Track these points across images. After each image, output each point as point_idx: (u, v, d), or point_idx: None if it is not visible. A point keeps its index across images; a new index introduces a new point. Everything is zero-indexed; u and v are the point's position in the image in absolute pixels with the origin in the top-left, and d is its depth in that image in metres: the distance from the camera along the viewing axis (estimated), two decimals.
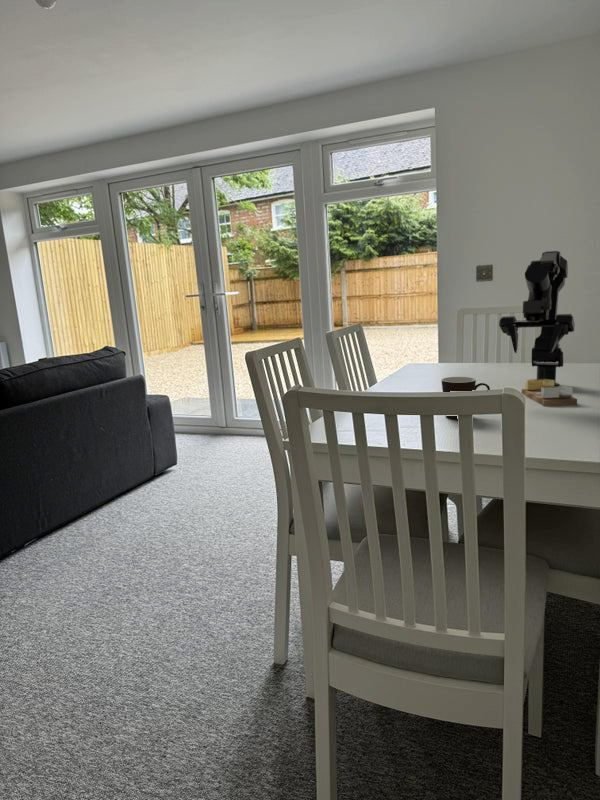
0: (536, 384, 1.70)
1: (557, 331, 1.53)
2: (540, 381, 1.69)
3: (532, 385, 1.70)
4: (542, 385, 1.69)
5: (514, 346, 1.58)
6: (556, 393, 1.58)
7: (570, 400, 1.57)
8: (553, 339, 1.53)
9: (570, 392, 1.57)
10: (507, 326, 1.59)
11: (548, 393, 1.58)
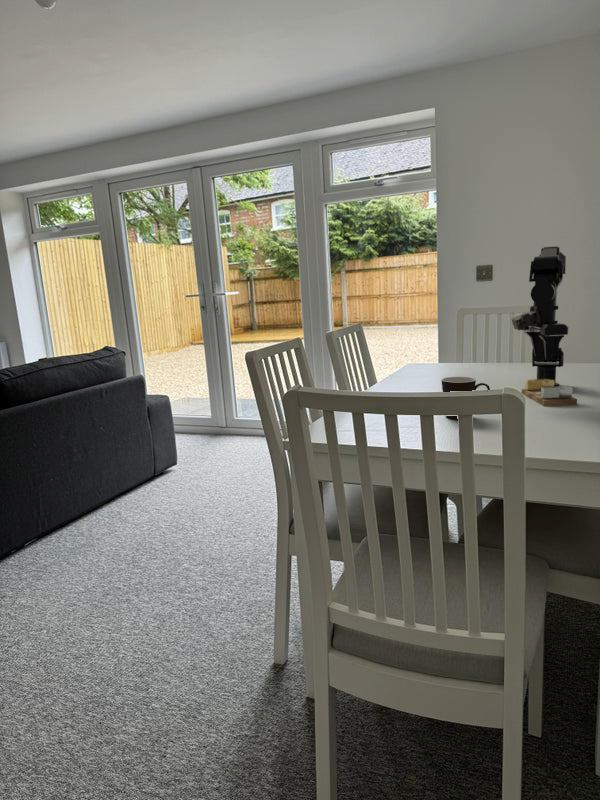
0: (536, 384, 1.70)
1: (544, 341, 1.57)
2: (540, 381, 1.69)
3: (532, 385, 1.70)
4: (542, 385, 1.69)
5: (534, 351, 1.67)
6: (556, 393, 1.58)
7: (570, 400, 1.57)
8: (544, 348, 1.58)
9: (570, 392, 1.57)
10: (525, 333, 1.68)
11: (548, 393, 1.58)
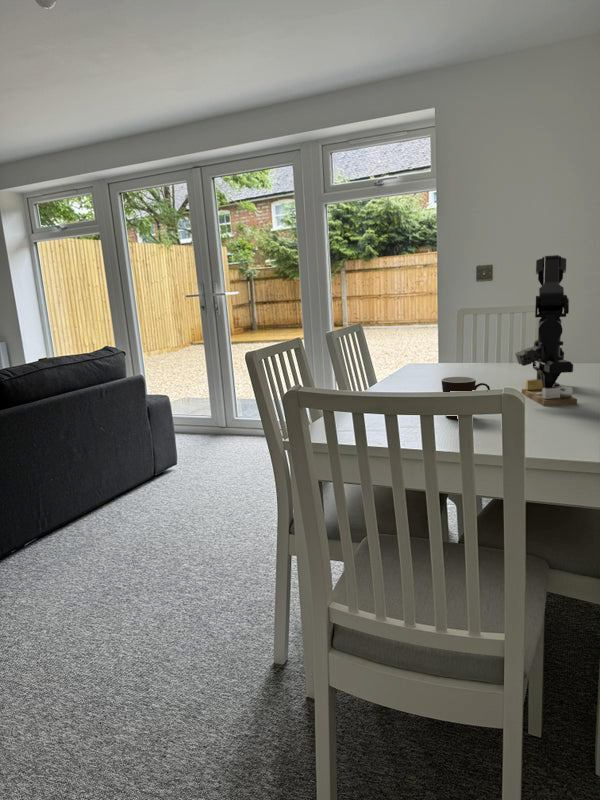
0: (536, 384, 1.70)
1: (543, 375, 1.58)
2: (540, 381, 1.69)
3: (532, 385, 1.70)
4: (542, 385, 1.69)
5: (543, 387, 1.61)
6: (557, 393, 1.58)
7: (570, 400, 1.57)
8: (543, 382, 1.59)
9: (571, 392, 1.57)
10: (534, 368, 1.62)
11: (550, 393, 1.57)
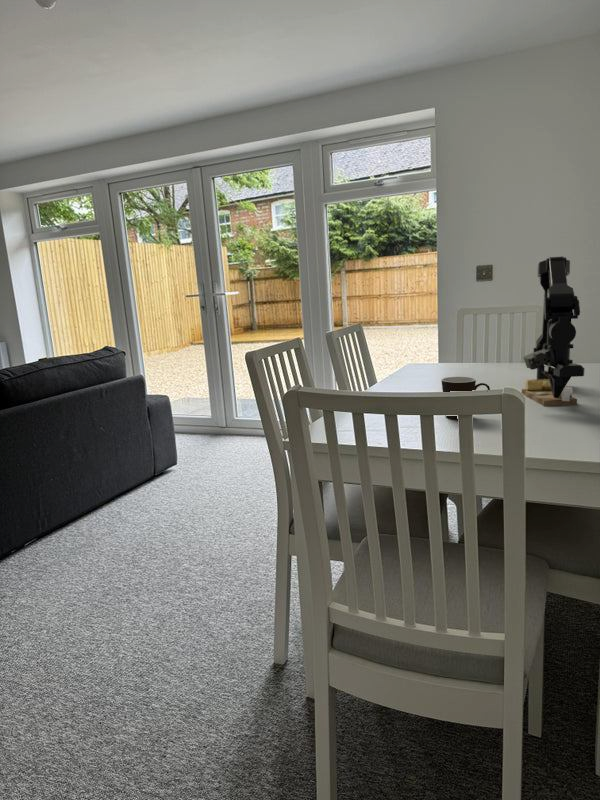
0: (536, 384, 1.70)
1: (553, 379, 1.52)
2: (540, 381, 1.69)
3: (532, 385, 1.70)
4: (542, 385, 1.69)
5: (552, 392, 1.55)
6: None
7: (570, 400, 1.57)
8: (553, 386, 1.53)
9: None
10: (542, 372, 1.56)
11: None
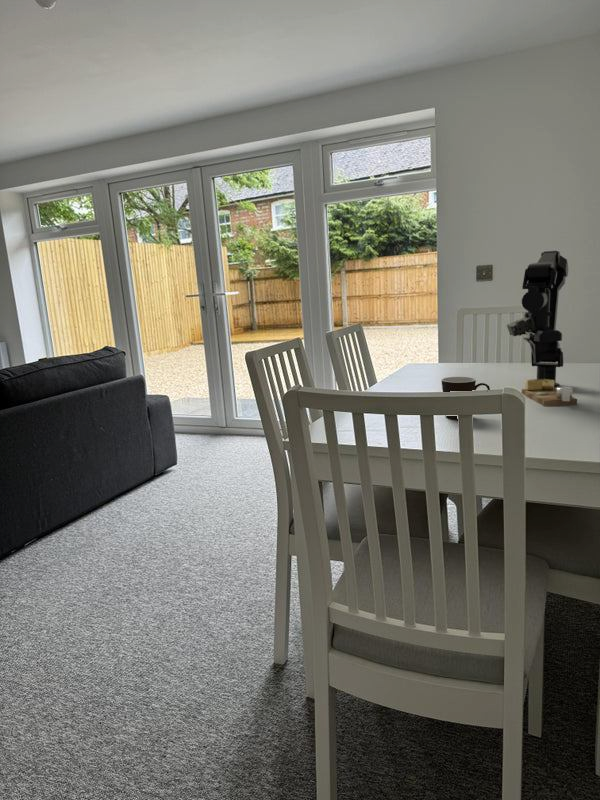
0: (536, 384, 1.70)
1: (534, 345, 1.65)
2: (540, 381, 1.69)
3: (532, 385, 1.70)
4: (542, 385, 1.69)
5: (533, 357, 1.68)
6: None
7: (570, 400, 1.57)
8: (534, 352, 1.66)
9: None
10: (524, 339, 1.68)
11: None
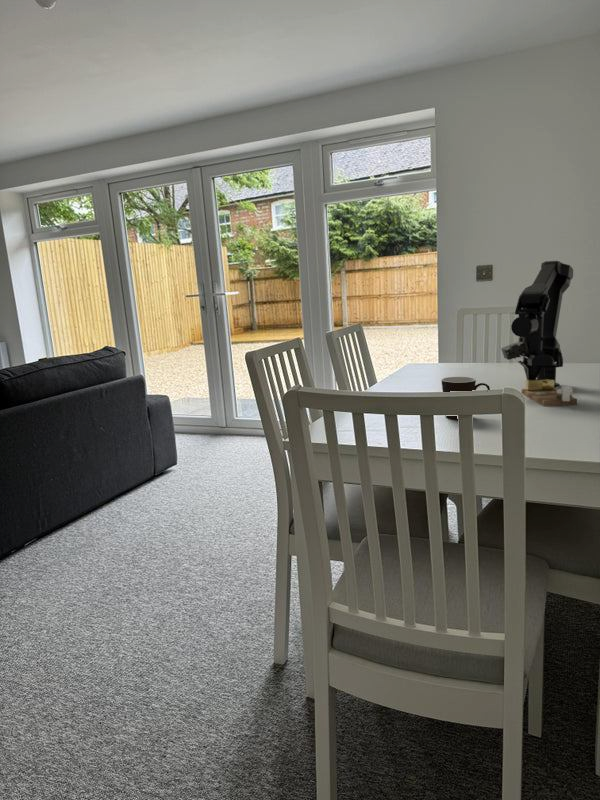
0: (536, 384, 1.69)
1: (527, 368, 1.70)
2: (540, 381, 1.69)
3: (532, 385, 1.69)
4: (542, 385, 1.69)
5: None
6: None
7: (570, 400, 1.57)
8: (527, 375, 1.71)
9: None
10: (518, 362, 1.74)
11: None
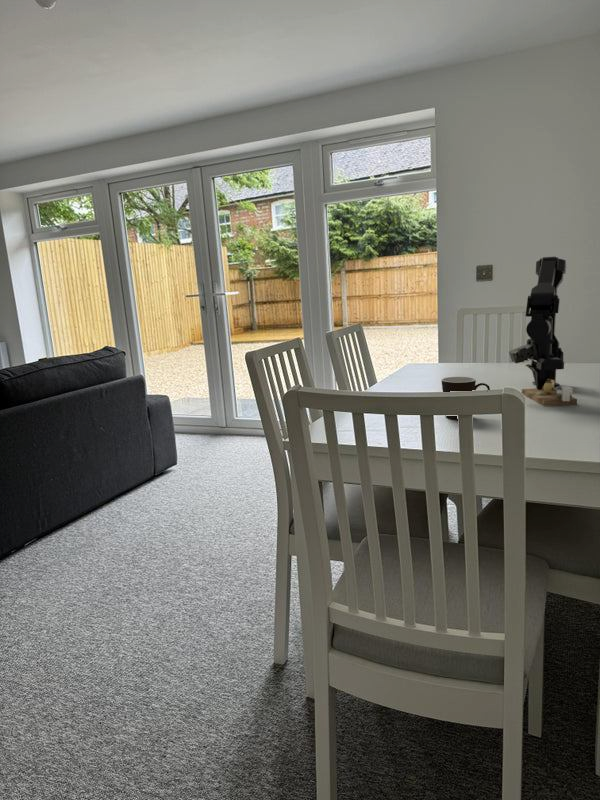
0: None
1: (536, 372, 1.64)
2: (551, 382, 1.68)
3: None
4: None
5: (535, 384, 1.66)
6: None
7: (570, 400, 1.57)
8: (536, 379, 1.65)
9: None
10: None
11: None
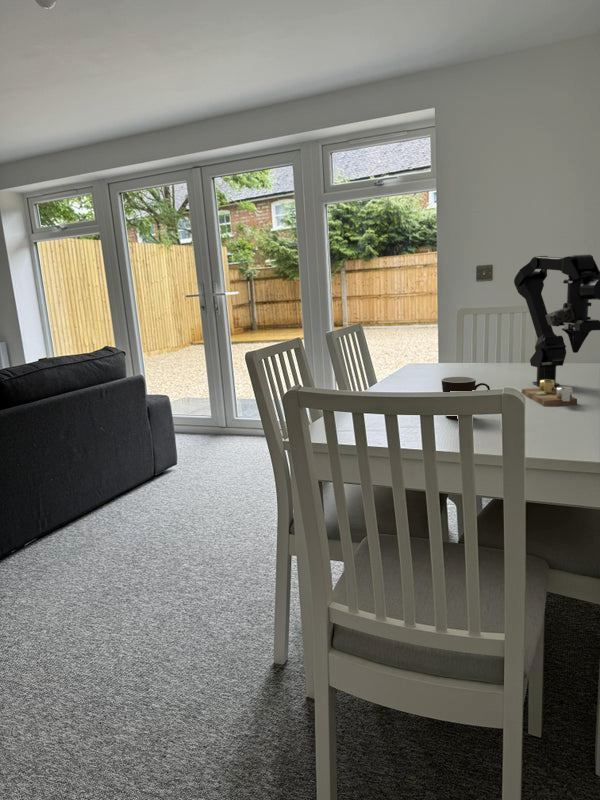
0: None
1: (572, 335, 1.67)
2: (551, 382, 1.68)
3: None
4: None
5: (572, 347, 1.70)
6: None
7: (570, 400, 1.57)
8: (572, 342, 1.68)
9: None
10: (563, 329, 1.71)
11: None
